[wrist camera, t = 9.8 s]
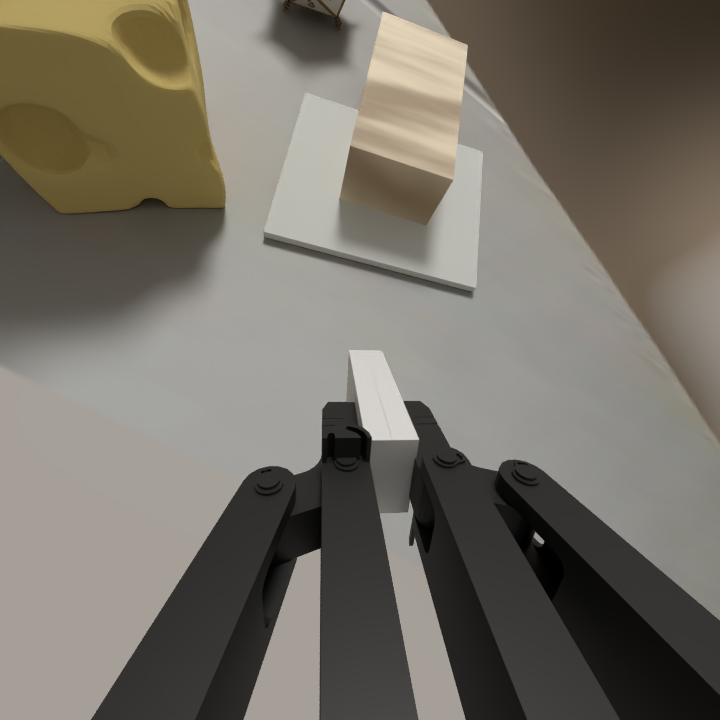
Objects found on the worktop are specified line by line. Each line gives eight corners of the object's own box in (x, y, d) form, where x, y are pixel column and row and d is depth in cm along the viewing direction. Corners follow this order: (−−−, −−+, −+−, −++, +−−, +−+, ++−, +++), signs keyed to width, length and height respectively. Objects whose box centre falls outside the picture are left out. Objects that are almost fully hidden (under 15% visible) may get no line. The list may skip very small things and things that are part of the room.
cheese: (230, 211, 24) (193, 46, 14) (48, 221, 21) (-150, 23, 11) (209, 99, 26) (166, -106, 17) (43, 94, 23) (-122, -156, 14)
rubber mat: (471, 291, 26) (476, 288, 25) (264, 236, 23) (263, 231, 23) (479, 157, 30) (482, 152, 30) (304, 100, 28) (305, 92, 27)
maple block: (453, 179, 22) (467, 45, 26) (350, 145, 21) (383, 11, 25) (426, 225, 26) (442, 102, 30) (339, 198, 25) (369, 75, 29)
